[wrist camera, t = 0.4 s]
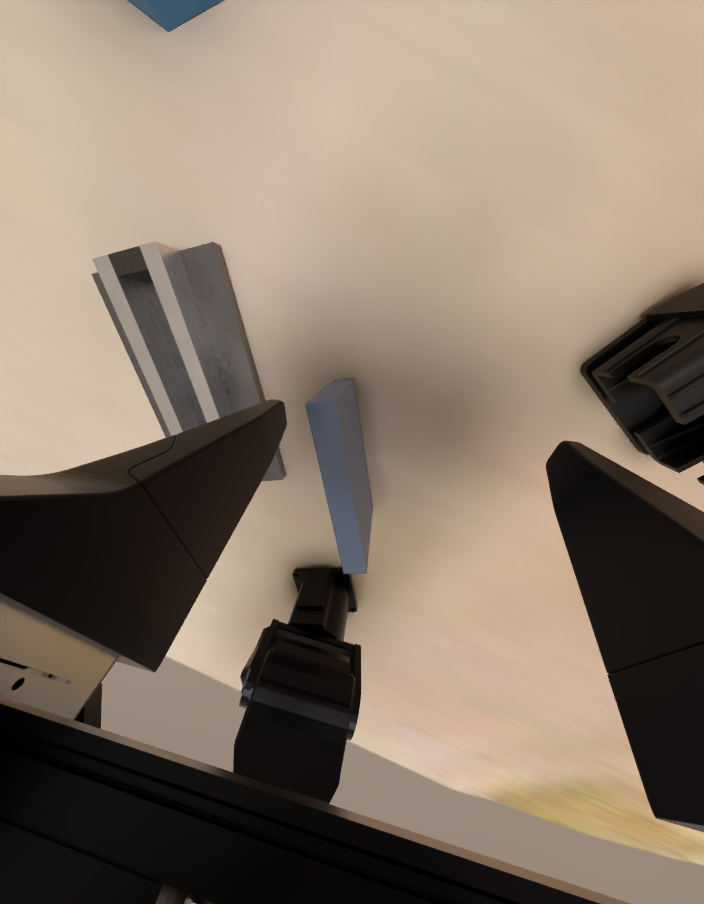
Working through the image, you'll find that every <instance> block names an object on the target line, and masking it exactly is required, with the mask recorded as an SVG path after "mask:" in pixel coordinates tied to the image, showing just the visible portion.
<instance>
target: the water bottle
mask: <svg viewBox="0 0 704 904" xmlns="http://www.w3.org/2000/svg"><path fill="white" fill-rule="evenodd" d="M128 1H129V2H131V3H132V4H133V5H135V6H136V7H137V8H138V9H140V10H141V11H142V12H144V13H145V14H146V15H147V16H149V17H150V18H151V19H153V20H154V21H155V22H156V23H158V24H159V25H160V26H161V27H163V28H164V29H165V30H167V31H168V32H169V31H170V30H172V29H174V28H176V27H177V26H179V25H181V24H183V23H184V22H186V21H188V20H190V19H191V18H193V17H195V16H197V15H198V14H200V13H202V12H203V11H205V10H207V9H209V8H210V7H212V6H214V5H216V4H217V3H219V2H221V1H223V0H128Z"/></svg>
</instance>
